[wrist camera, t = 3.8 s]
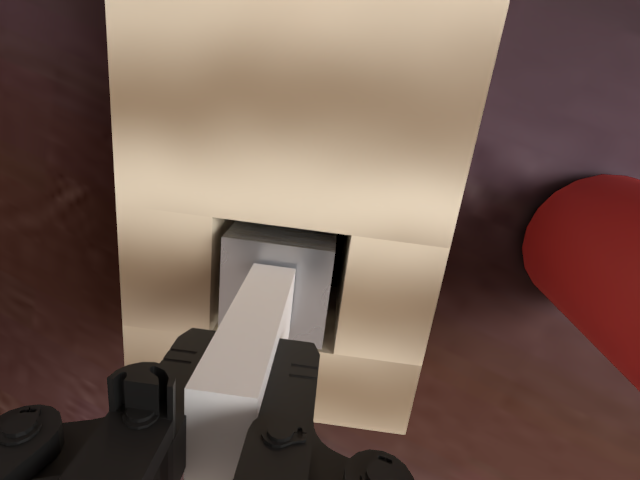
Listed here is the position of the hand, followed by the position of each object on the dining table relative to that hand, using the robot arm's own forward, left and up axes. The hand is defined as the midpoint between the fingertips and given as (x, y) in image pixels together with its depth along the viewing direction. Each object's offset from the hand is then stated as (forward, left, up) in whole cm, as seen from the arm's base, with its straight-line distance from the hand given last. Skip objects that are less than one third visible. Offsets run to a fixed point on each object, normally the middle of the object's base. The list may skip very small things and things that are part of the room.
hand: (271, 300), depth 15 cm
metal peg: (0, 0, -6) cm, 6 cm away
